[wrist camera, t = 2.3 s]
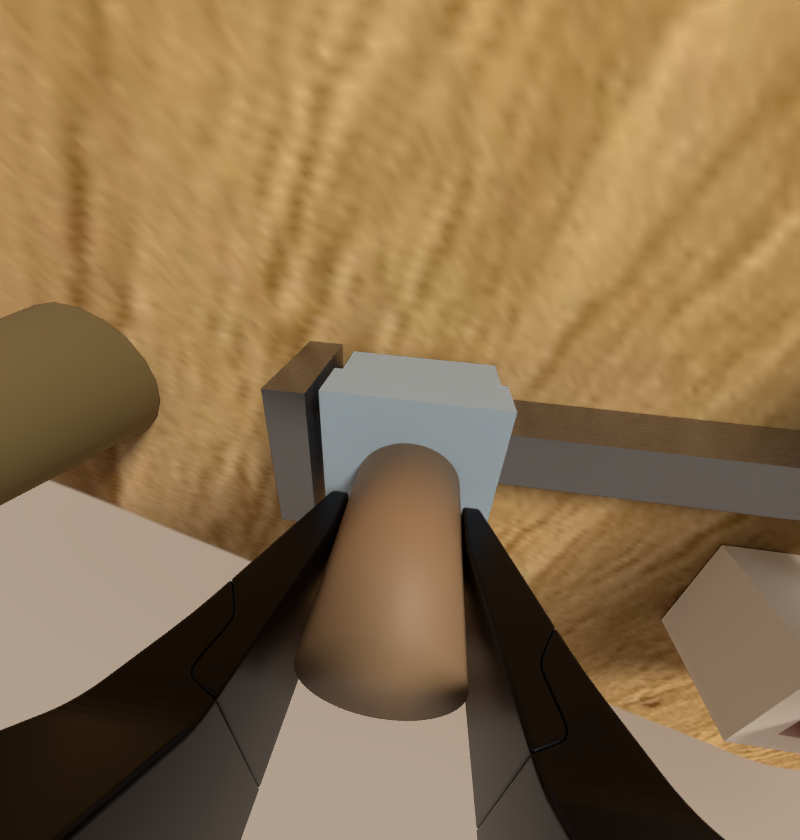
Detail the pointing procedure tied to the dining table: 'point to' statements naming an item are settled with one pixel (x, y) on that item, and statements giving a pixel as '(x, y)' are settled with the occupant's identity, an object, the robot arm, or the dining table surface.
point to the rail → (564, 451)
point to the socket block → (744, 644)
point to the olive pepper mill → (65, 393)
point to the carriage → (401, 531)
